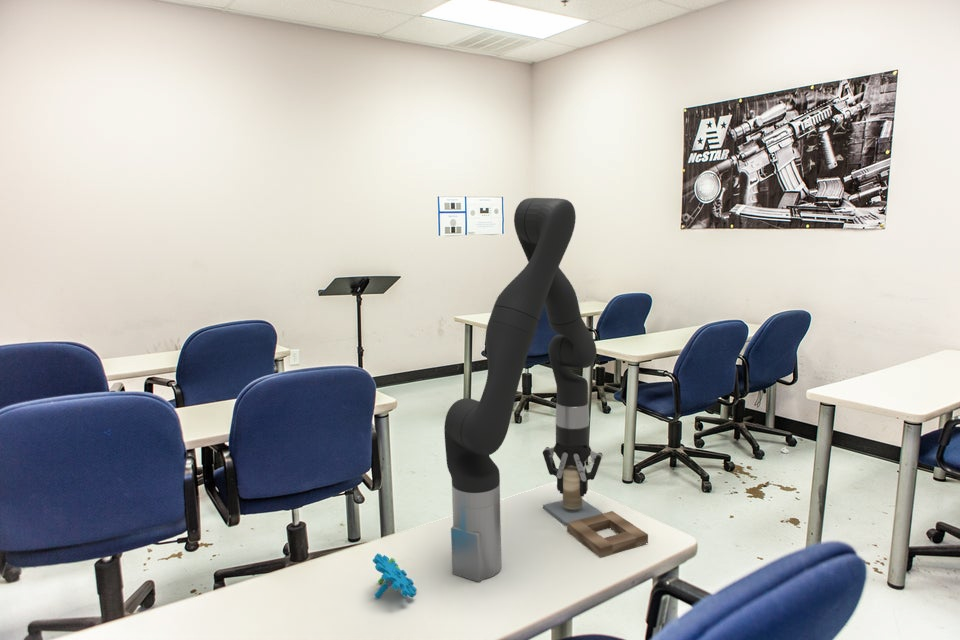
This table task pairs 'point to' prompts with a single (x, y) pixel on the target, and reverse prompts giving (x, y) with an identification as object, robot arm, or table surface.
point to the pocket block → (601, 546)
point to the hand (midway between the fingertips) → (572, 493)
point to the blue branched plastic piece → (393, 577)
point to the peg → (571, 488)
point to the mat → (570, 511)
